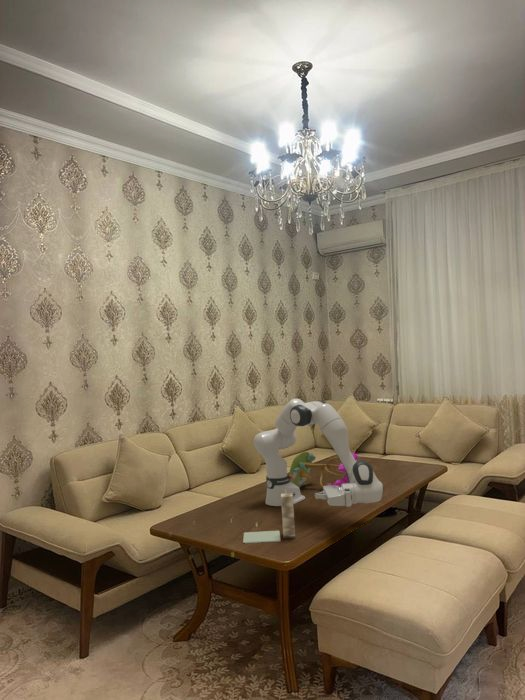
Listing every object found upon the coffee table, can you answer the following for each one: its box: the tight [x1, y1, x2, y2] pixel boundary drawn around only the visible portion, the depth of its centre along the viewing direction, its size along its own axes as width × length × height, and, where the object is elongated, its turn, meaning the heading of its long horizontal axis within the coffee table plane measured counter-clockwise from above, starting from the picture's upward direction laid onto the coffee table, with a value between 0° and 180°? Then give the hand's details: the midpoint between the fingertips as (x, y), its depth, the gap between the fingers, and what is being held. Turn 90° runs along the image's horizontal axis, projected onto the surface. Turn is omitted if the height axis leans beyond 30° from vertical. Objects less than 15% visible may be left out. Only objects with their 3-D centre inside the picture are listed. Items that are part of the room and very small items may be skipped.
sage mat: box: [242, 530, 281, 544], centre depth 230 cm, size 16×12×1 cm
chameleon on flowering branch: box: [288, 451, 359, 489], centre depth 295 cm, size 30×28×35 cm
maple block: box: [281, 493, 296, 539], centre depth 230 cm, size 5×5×18 cm
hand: (315, 496), depth 230 cm, fingers closed
